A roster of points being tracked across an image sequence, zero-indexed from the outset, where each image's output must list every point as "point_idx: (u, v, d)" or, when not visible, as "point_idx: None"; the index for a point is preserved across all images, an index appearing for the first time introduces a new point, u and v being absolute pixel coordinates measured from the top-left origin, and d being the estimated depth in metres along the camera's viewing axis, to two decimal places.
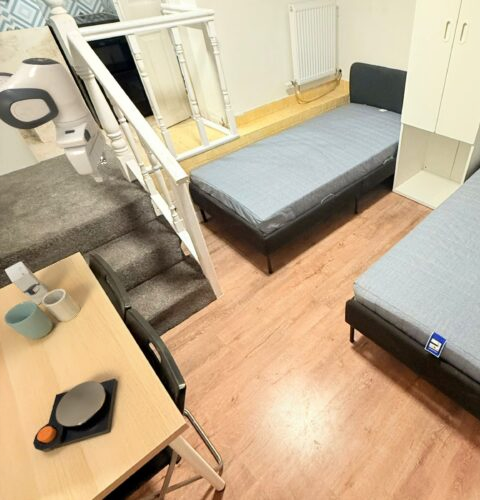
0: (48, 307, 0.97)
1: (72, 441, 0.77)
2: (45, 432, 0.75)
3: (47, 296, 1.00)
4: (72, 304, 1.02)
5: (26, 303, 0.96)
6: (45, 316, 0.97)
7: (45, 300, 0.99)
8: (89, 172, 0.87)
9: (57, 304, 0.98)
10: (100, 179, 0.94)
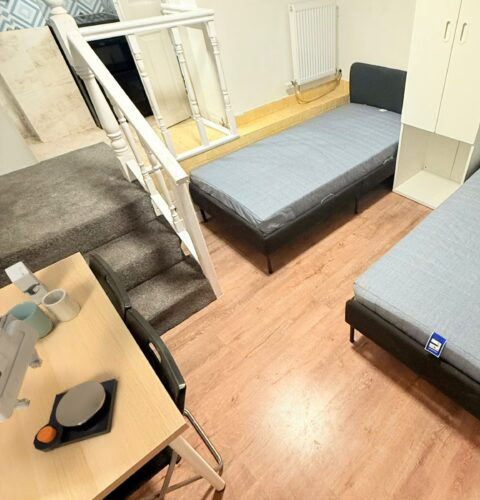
0: (48, 307, 0.97)
1: (72, 441, 0.77)
2: (45, 432, 0.75)
3: (47, 296, 1.00)
4: (72, 304, 1.02)
5: (26, 303, 0.96)
6: (45, 316, 0.97)
7: (45, 300, 0.99)
8: (1, 421, 0.62)
9: (57, 304, 0.98)
10: (24, 407, 0.68)
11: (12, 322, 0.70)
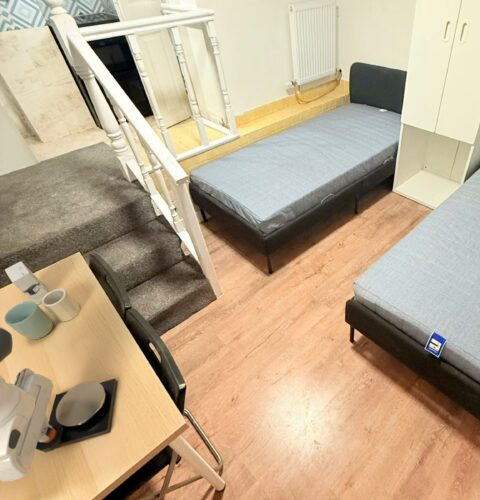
0: (48, 307, 0.97)
1: (72, 441, 0.77)
2: None
3: (47, 296, 1.00)
4: (72, 304, 1.02)
5: (26, 303, 0.96)
6: (45, 316, 0.97)
7: (45, 300, 0.99)
8: (19, 477, 0.65)
9: (57, 304, 0.98)
10: (45, 439, 0.74)
11: (29, 377, 0.73)
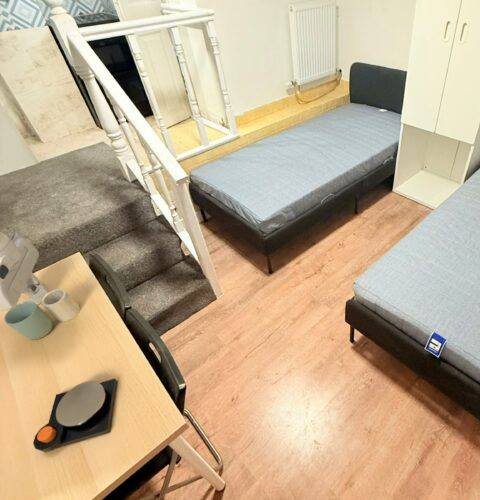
0: (48, 307, 0.97)
1: (72, 441, 0.77)
2: (45, 432, 0.75)
3: (47, 296, 1.00)
4: (72, 304, 1.02)
5: (26, 303, 0.96)
6: (45, 316, 0.97)
7: (45, 300, 0.99)
8: (7, 308, 0.79)
9: (57, 304, 0.98)
10: (31, 293, 0.88)
11: (18, 239, 0.87)
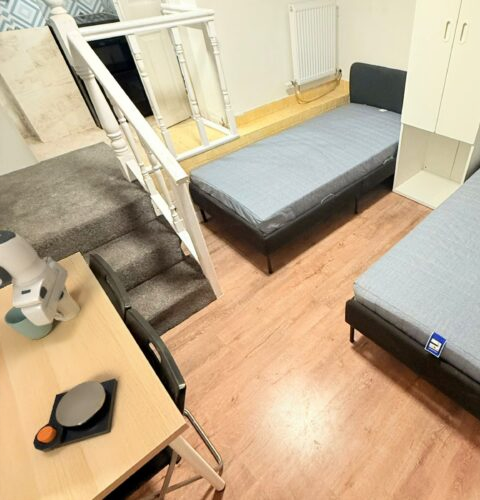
0: None
1: (72, 441, 0.77)
2: (45, 432, 0.75)
3: None
4: (72, 304, 1.02)
5: None
6: None
7: None
8: (46, 323, 0.92)
9: None
10: (60, 317, 0.99)
11: (51, 262, 1.00)
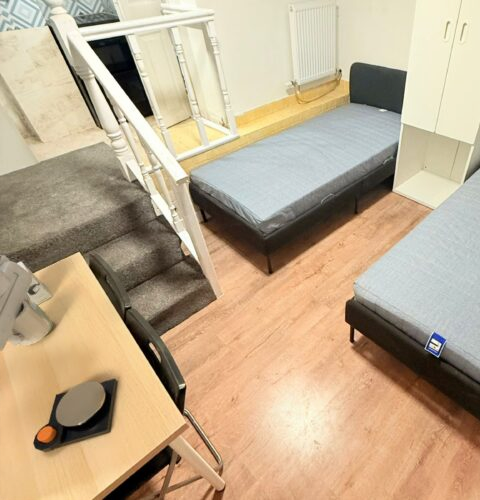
0: None
1: (72, 441, 0.77)
2: (45, 432, 0.75)
3: None
4: (37, 321, 0.73)
5: None
6: (45, 316, 0.97)
7: None
8: None
9: None
10: (19, 341, 0.70)
11: (6, 263, 0.71)
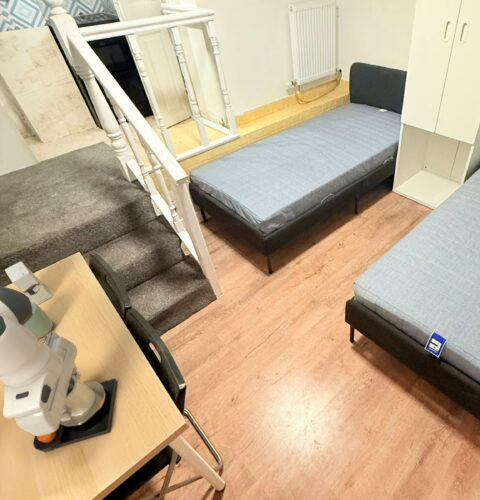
0: None
1: (72, 441, 0.77)
2: None
3: None
4: (85, 394, 0.78)
5: None
6: (45, 316, 0.97)
7: None
8: (50, 432, 0.68)
9: (66, 399, 0.74)
10: (67, 418, 0.74)
11: (56, 340, 0.75)
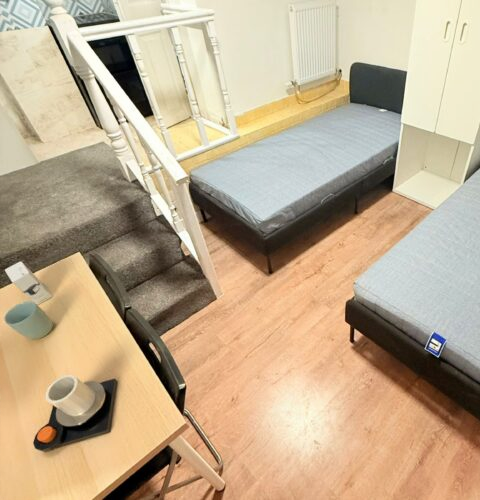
0: (54, 404, 0.73)
1: (72, 441, 0.77)
2: (45, 432, 0.75)
3: (53, 386, 0.76)
4: (85, 394, 0.78)
5: (26, 303, 0.96)
6: (45, 316, 0.97)
7: (50, 392, 0.75)
8: None
9: (66, 399, 0.74)
10: None
11: None
